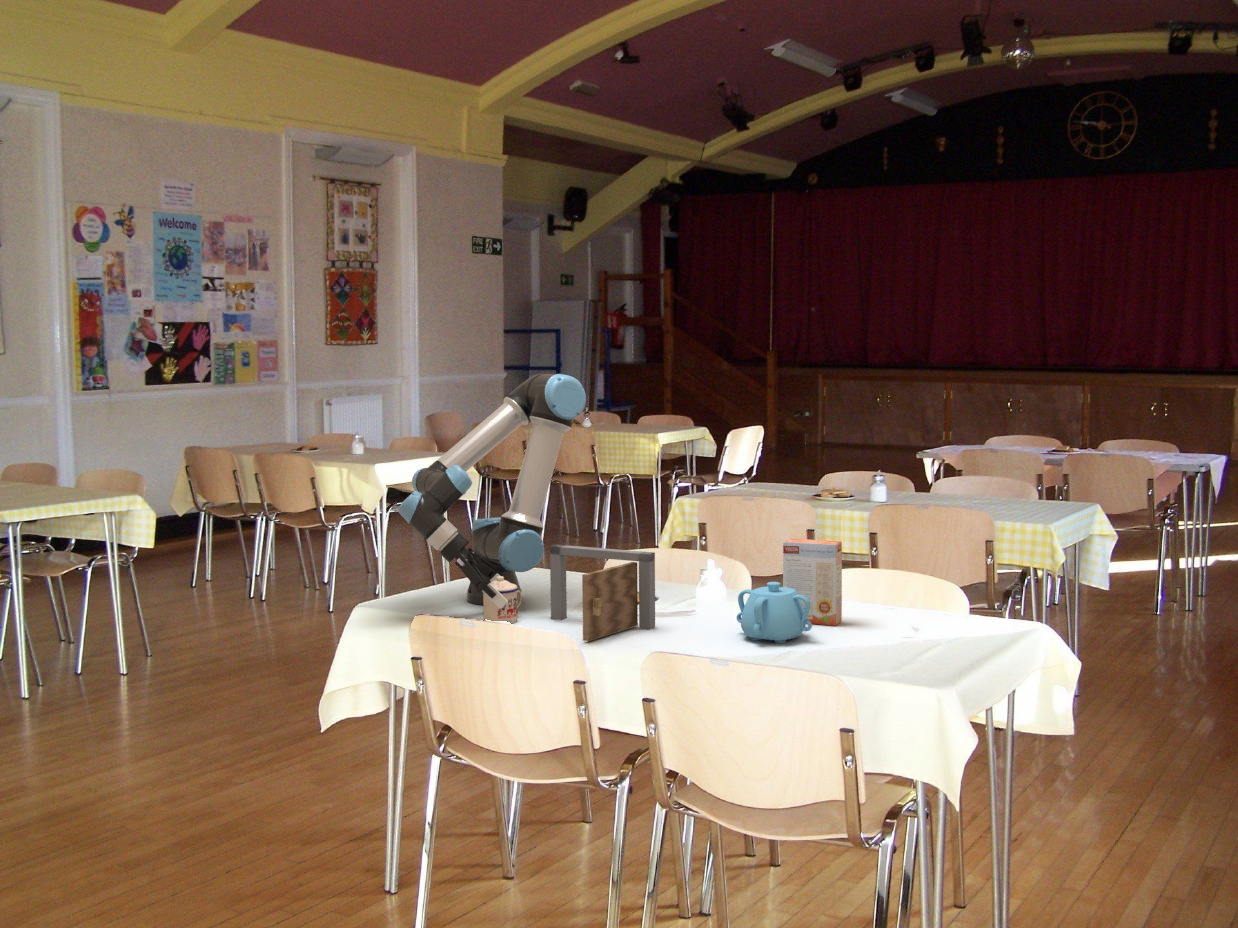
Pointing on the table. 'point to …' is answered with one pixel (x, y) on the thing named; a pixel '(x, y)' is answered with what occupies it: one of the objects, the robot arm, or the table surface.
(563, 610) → the door frame
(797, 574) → the cracker box
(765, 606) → the decorative pot
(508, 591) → the teacup with lid
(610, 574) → the door
